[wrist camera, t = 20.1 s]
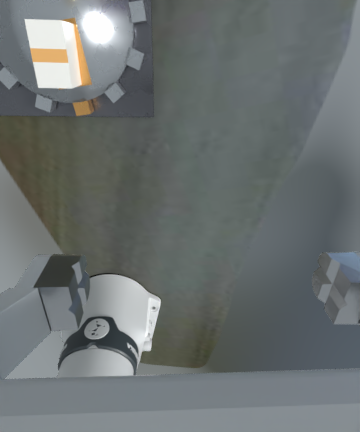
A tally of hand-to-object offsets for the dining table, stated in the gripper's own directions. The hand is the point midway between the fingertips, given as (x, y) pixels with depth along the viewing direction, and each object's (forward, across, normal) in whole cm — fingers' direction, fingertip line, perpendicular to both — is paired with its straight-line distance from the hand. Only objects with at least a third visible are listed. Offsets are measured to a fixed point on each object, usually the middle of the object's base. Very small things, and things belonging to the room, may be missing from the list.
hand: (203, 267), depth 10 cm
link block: (+30, +13, -6) cm, 33 cm away
